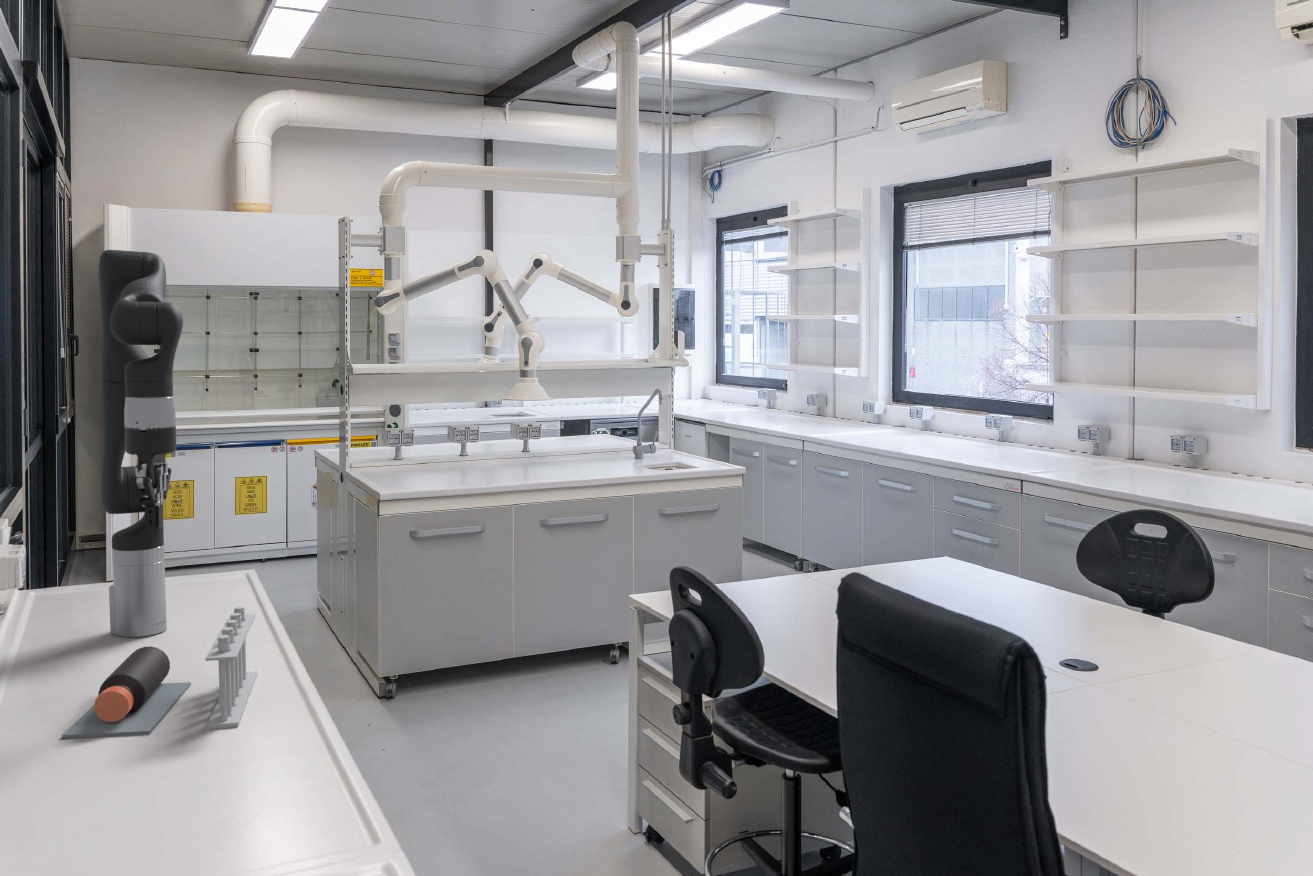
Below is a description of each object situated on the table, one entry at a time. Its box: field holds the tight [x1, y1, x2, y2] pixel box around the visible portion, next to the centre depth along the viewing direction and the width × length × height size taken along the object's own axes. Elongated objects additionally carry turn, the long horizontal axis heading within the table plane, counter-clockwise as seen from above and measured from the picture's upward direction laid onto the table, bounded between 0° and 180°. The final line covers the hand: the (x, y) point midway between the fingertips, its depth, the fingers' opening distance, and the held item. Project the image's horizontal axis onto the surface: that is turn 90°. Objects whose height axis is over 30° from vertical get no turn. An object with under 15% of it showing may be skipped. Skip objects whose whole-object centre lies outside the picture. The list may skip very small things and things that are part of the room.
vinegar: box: [93, 645, 171, 722], centre depth 162 cm, size 7×7×20 cm
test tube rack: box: [204, 606, 258, 730], centre depth 164 cm, size 25×4×13 cm, turn 15°
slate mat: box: [61, 681, 192, 740], centre depth 160 cm, size 22×12×1 cm, turn 10°
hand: (153, 528), depth 168 cm, fingers closed
